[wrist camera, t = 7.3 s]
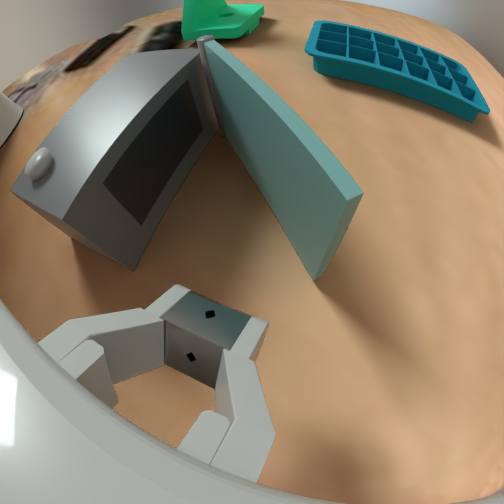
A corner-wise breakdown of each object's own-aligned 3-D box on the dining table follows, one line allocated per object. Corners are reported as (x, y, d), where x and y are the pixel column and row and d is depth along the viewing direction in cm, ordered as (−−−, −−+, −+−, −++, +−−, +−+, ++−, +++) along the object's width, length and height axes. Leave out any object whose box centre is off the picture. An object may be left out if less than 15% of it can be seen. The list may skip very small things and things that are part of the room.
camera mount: (240, 45, 26) (229, -26, 16) (185, 47, 27) (167, -16, 18) (266, 17, 29) (261, -37, 20) (220, 18, 31) (210, -32, 21)
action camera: (164, 103, 22) (138, 37, 15) (231, 110, 20) (215, 30, 13) (70, 237, 17) (3, 184, 10) (134, 271, 16) (53, 212, 9)
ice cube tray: (314, 37, 26) (315, 19, 23) (457, 80, 22) (463, 64, 19) (302, 78, 22) (303, 53, 19) (481, 134, 18) (493, 116, 16)
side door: (218, 130, 19) (194, 39, 12) (233, 124, 19) (215, 32, 12) (309, 283, 14) (341, 203, 7) (329, 272, 15) (376, 186, 7)
